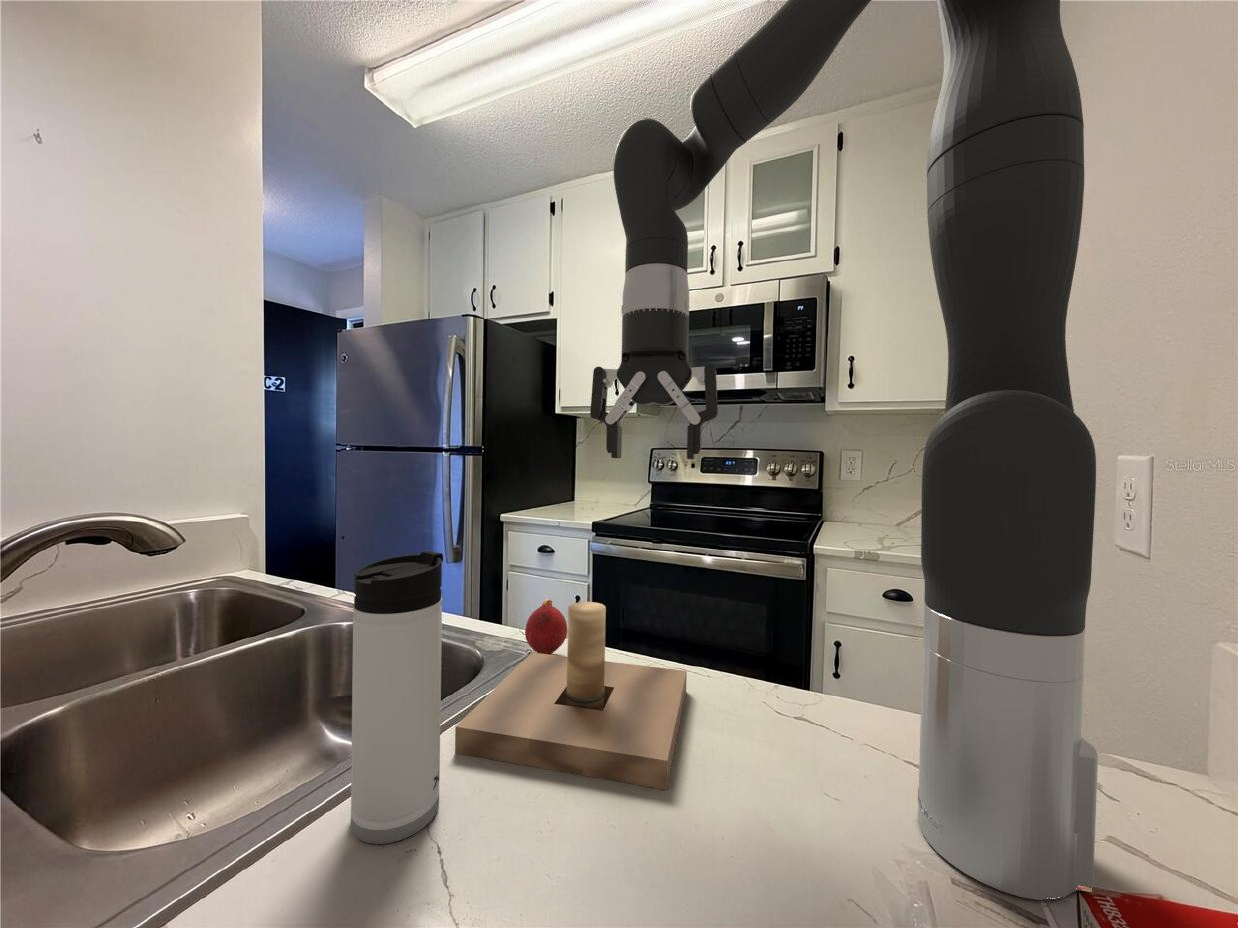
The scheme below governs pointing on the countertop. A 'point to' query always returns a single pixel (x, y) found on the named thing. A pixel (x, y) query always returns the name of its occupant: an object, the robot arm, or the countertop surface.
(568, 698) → the oak peg
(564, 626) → the red egg-shaped piece
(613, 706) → the walnut board
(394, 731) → the travel mug
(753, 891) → the countertop surface
